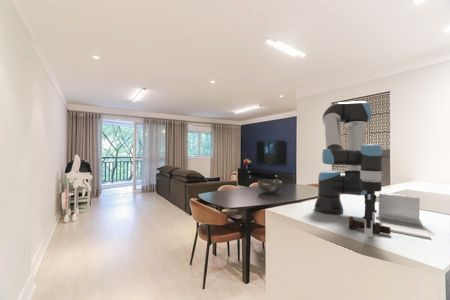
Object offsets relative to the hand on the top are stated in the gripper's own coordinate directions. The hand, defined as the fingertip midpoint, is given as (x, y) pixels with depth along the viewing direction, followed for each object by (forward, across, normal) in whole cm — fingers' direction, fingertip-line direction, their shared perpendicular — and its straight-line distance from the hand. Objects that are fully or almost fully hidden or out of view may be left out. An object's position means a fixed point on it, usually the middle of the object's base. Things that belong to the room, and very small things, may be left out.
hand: (369, 231), depth 92 cm
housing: (+1, +33, -10) cm, 35 cm away
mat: (+1, +15, -12) cm, 19 cm away
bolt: (+2, +4, +1) cm, 4 cm away
